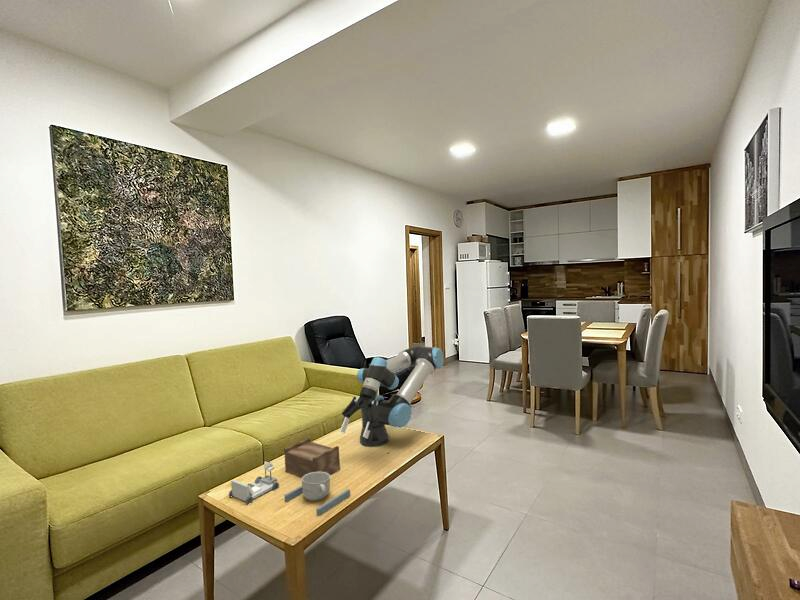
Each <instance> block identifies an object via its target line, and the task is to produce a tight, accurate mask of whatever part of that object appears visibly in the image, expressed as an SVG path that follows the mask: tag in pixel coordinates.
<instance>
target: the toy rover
mask: <svg viewBox="0 0 800 600" xmlns="http://www.w3.org/2000/svg"><path fill="white" fill-rule="evenodd" d="M263 462H264V463H263V464H264V465H263V467H264V474H265V475H264V477H262V476H257V477H256V479H255V480H254V482H251V483H248V484H246V483H243V482H242V481H239V480H235V479H232V480H231V482H230V483H231V484H230V485H231V489H230V490H229V492H228V497H229V498H230V497H231V496H234V498H237V499H239V500H240V501H241V500H242V501H244V502H245V503H244V504H245V505H247V506H248V504H249V503H251V504H252V503H254V499H256V498H259V497H260V496H261V495H264V494H266V493H267V492H270V491H271V490H273V491H276V490H277V489H279V488H280V483H279V482H278V478H277V477H273V476H272V471H273V470H274V469H275V467H274V465H273V464H272V463H271V462H272V460H271V459H270V460H269V461H266V460H265V461H263ZM267 472H269V475H267ZM249 505H250V504H249Z"/></svg>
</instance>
